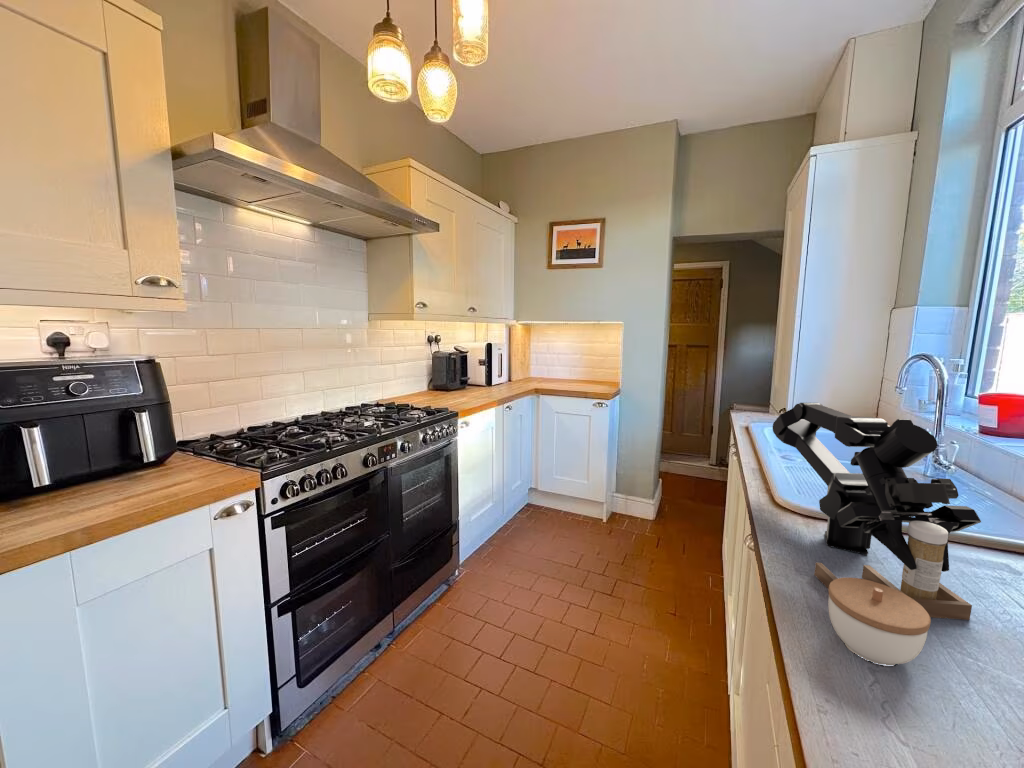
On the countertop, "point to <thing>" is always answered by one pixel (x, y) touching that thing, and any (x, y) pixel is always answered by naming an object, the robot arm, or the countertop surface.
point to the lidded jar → (877, 620)
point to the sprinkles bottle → (924, 560)
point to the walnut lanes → (939, 608)
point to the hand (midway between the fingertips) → (929, 570)
